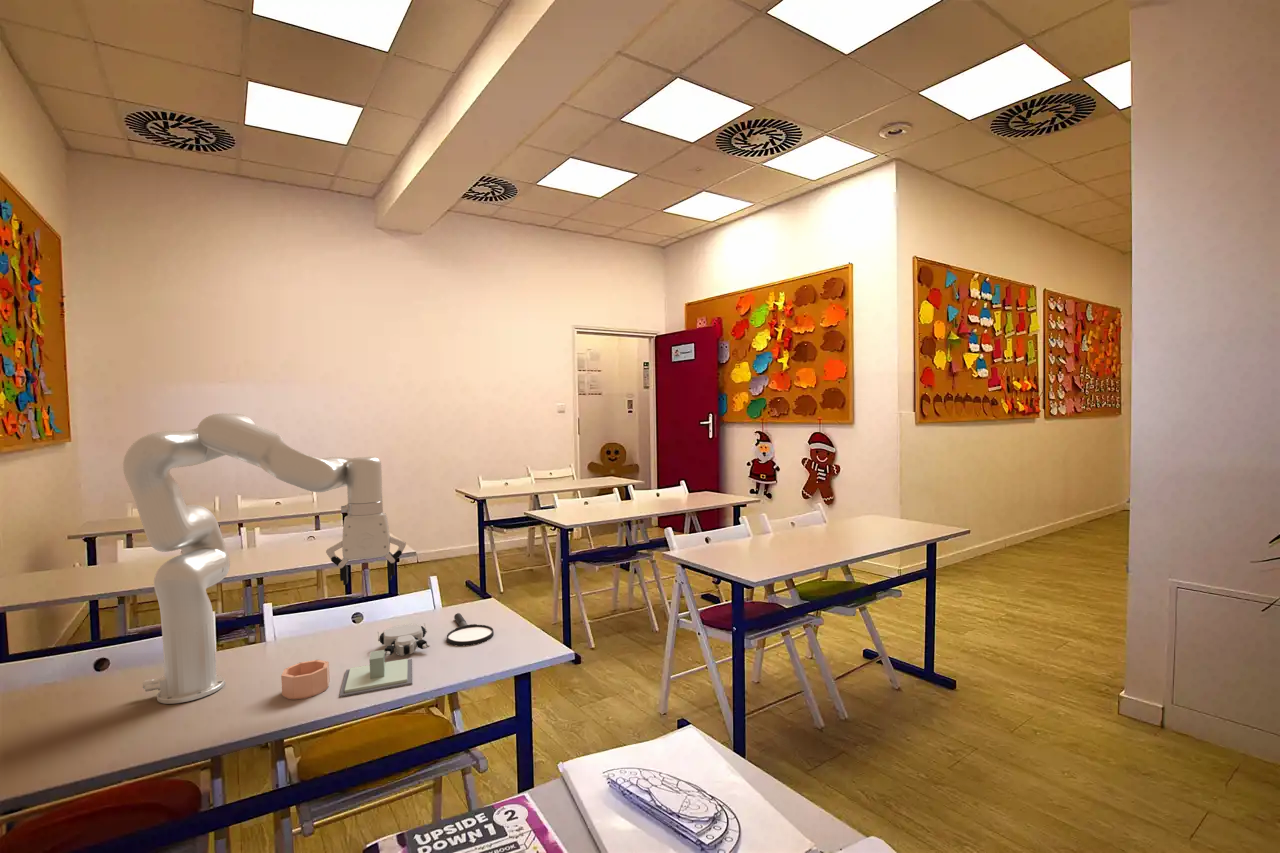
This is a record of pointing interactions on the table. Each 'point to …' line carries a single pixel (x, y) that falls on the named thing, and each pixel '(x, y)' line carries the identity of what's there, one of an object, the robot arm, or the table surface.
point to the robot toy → (403, 639)
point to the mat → (409, 682)
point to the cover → (377, 673)
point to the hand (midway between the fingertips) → (368, 581)
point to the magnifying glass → (468, 633)
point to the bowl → (305, 679)
